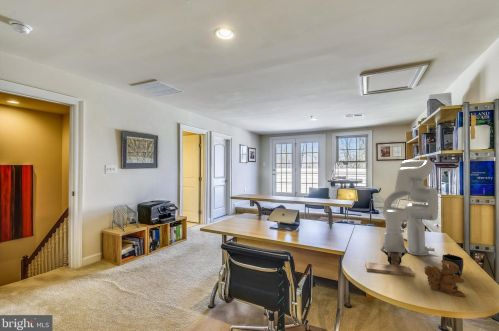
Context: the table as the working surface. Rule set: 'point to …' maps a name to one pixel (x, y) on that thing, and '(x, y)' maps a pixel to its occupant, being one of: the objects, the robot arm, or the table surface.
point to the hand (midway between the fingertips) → (394, 263)
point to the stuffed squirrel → (445, 278)
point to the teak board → (389, 268)
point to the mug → (456, 260)
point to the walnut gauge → (394, 258)
